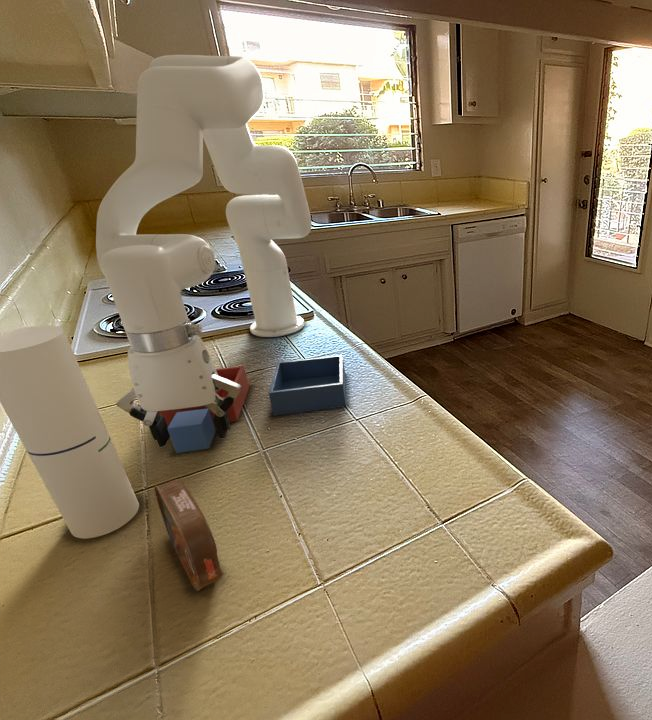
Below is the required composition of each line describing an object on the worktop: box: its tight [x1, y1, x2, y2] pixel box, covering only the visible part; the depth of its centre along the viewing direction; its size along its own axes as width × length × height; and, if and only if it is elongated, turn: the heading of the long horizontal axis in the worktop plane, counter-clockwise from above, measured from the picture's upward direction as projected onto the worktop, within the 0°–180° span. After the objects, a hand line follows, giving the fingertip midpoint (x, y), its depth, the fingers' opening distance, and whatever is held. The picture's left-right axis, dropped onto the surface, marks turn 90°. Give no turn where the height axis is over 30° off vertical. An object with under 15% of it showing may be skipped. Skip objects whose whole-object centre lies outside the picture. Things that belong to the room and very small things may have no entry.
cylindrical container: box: [0, 324, 140, 539], centre depth 54 cm, size 7×7×25 cm
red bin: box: [159, 365, 250, 426], centre depth 82 cm, size 12×12×5 cm
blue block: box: [167, 409, 217, 454], centre depth 72 cm, size 5×5×5 cm
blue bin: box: [268, 354, 347, 417], centre depth 86 cm, size 12×12×5 cm
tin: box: [153, 478, 224, 592], centre depth 52 cm, size 15×3×8 cm, turn 45°
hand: (194, 437), depth 73 cm, fingers open, 7 cm apart
